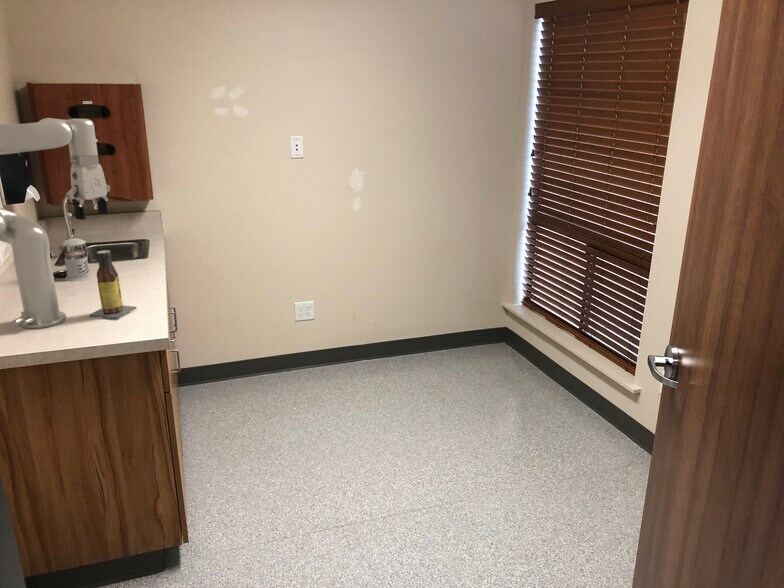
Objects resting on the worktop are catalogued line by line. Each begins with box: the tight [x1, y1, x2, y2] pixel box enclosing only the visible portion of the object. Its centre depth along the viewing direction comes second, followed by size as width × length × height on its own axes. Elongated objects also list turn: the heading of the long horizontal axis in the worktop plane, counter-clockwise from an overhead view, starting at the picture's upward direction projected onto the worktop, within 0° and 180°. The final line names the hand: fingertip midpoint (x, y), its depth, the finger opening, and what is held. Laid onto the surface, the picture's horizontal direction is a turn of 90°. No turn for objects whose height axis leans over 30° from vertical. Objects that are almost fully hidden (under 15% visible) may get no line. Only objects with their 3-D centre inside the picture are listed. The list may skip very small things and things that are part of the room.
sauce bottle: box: [96, 249, 124, 314], centre depth 190 cm, size 6×6×20 cm
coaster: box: [89, 304, 138, 320], centre depth 194 cm, size 10×10×1 cm
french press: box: [61, 212, 94, 282], centre depth 224 cm, size 10×12×25 cm
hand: (92, 216), depth 187 cm, fingers open, 9 cm apart
